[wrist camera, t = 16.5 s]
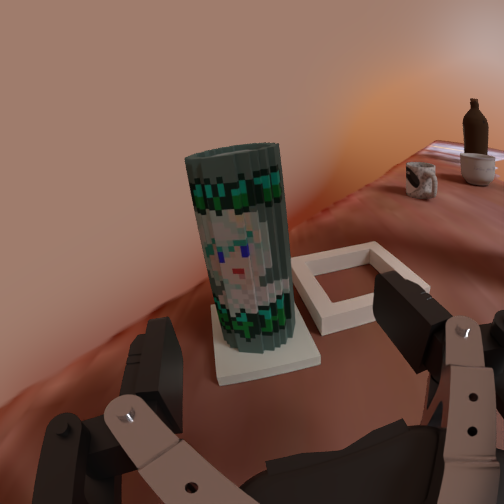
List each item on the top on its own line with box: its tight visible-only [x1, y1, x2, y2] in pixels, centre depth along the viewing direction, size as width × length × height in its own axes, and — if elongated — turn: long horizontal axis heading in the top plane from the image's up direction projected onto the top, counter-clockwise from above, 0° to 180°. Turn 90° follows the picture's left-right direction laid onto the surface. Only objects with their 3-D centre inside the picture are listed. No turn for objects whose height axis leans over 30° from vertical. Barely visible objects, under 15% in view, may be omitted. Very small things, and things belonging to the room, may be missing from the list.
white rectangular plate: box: [211, 302, 321, 386], centre depth 26 cm, size 8×10×1 cm
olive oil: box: [463, 98, 488, 155], centre depth 79 cm, size 11×11×25 cm
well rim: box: [291, 241, 430, 336], centre depth 31 cm, size 12×12×2 cm
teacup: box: [460, 153, 495, 186], centre depth 61 cm, size 14×11×8 cm
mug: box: [406, 162, 437, 199], centre depth 55 cm, size 10×7×7 cm, turn 179°
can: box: [185, 143, 296, 354], centre depth 23 cm, size 6×6×15 cm
